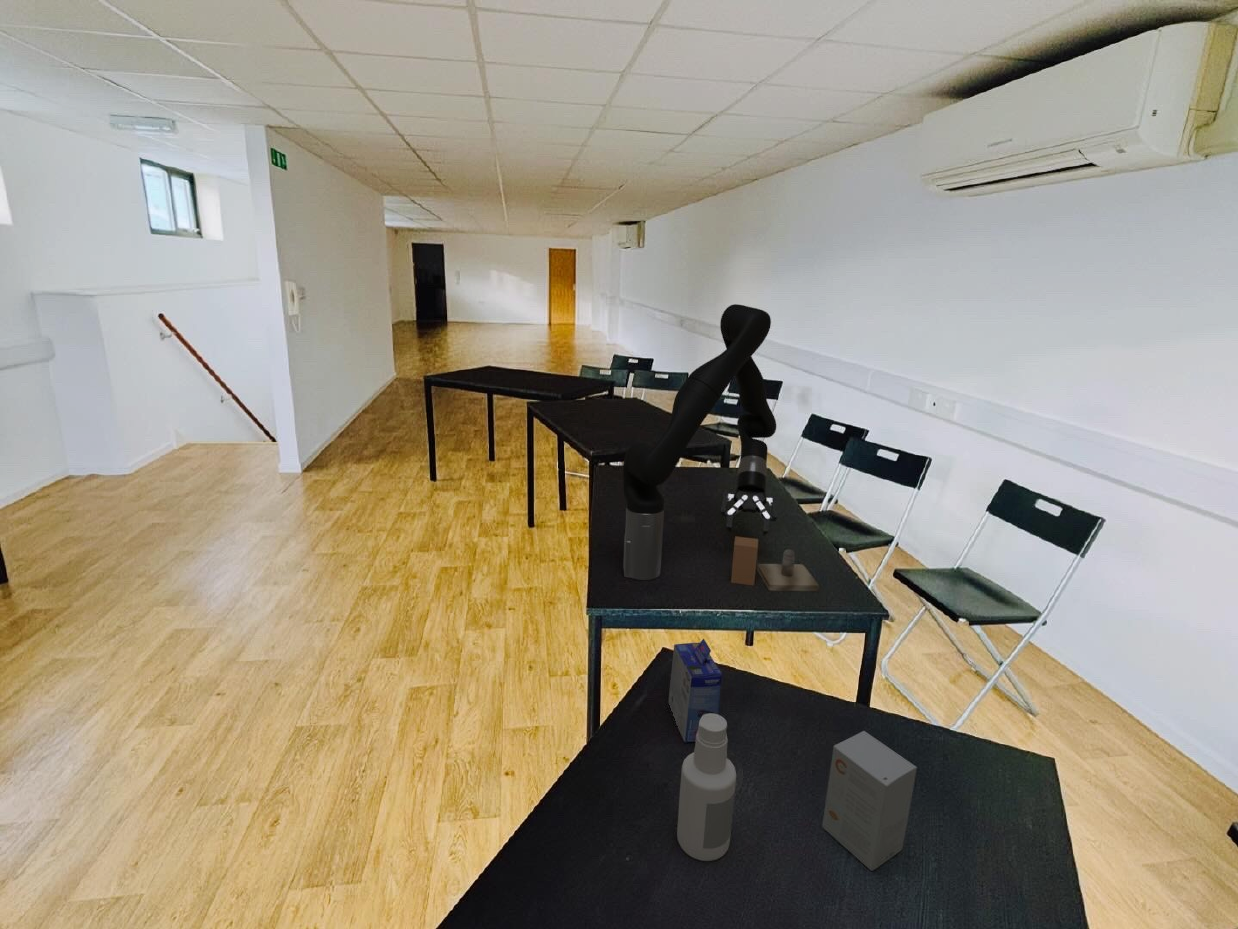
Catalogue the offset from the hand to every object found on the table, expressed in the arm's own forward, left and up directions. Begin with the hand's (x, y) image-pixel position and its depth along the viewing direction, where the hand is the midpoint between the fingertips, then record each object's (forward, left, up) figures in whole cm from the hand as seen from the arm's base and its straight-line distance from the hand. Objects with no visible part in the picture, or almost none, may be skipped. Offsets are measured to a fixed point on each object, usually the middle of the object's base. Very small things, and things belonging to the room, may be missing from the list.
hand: (747, 532), depth 160 cm
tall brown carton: (-2, -6, -10) cm, 12 cm away
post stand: (+9, -6, -10) cm, 15 cm away
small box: (-4, -83, -10) cm, 83 cm away
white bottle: (-25, -83, -10) cm, 87 cm away
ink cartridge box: (-23, -60, -10) cm, 65 cm away
